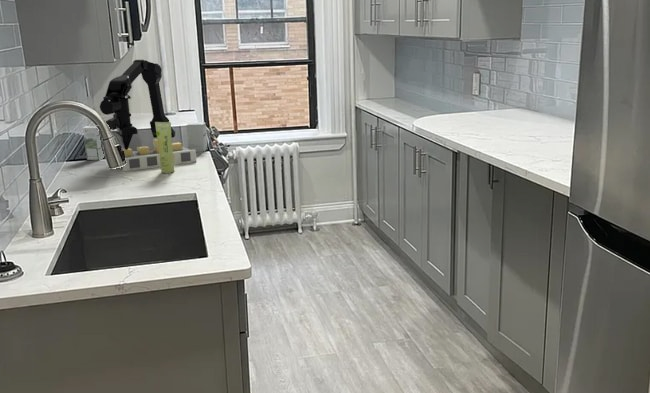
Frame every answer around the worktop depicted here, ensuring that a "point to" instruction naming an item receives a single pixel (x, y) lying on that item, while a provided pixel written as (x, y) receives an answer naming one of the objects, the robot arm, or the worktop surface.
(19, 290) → the worktop surface
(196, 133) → the supplement box
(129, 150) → the button
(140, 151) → the button
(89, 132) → the syrup box
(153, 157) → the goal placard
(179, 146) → the button
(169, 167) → the tube
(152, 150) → the button board
